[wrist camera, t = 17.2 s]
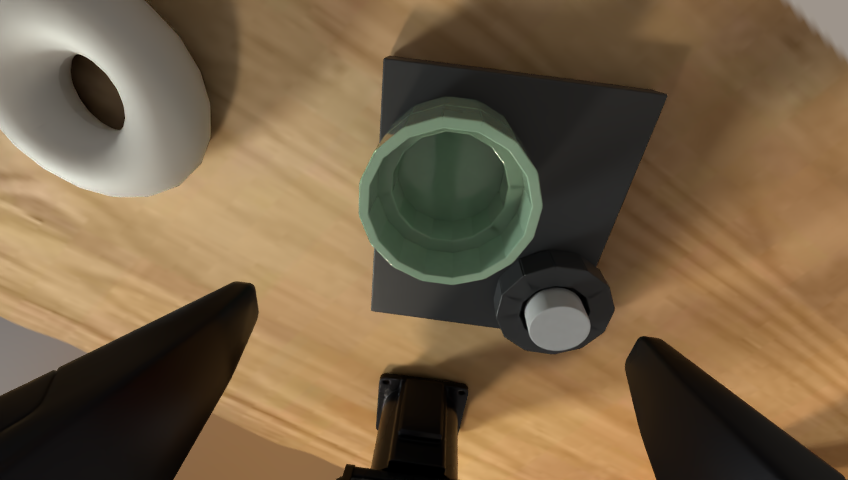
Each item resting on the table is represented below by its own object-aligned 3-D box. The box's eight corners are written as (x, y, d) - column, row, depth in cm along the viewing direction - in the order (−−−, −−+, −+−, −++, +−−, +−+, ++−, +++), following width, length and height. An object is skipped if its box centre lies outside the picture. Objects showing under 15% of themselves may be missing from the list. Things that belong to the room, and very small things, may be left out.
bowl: (505, 240, 20) (517, 294, 16) (376, 223, 20) (356, 272, 16) (539, 105, 16) (565, 131, 12) (383, 85, 16) (360, 105, 12)
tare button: (571, 333, 21) (579, 355, 19) (518, 326, 21) (522, 347, 19) (589, 291, 19) (599, 311, 18) (532, 283, 19) (537, 302, 18)
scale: (576, 324, 24) (590, 360, 21) (375, 296, 24) (365, 330, 21) (674, 92, 17) (714, 104, 14) (388, 55, 17) (376, 61, 14)
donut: (262, 83, 18) (46, -101, 15) (226, 96, 15) (-54, -130, 12) (178, 215, 22) (-6, 92, 19) (136, 246, 19) (-90, 106, 16)
